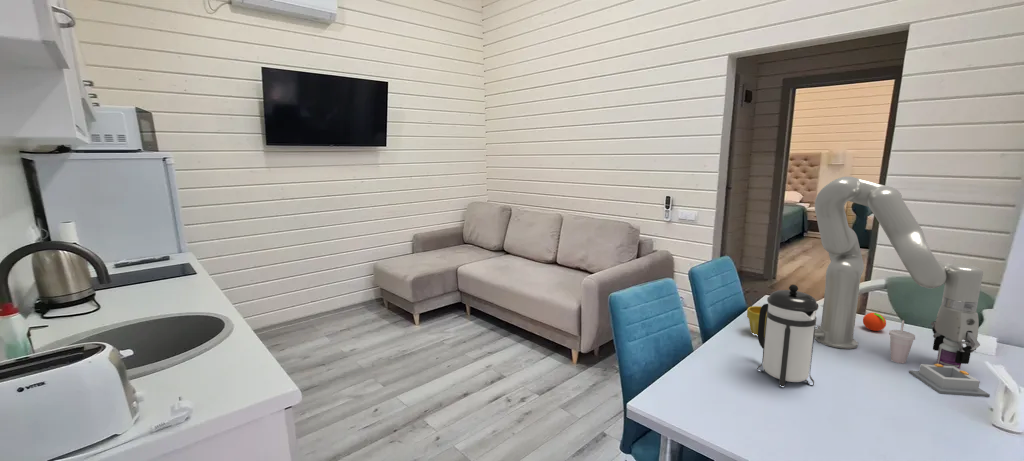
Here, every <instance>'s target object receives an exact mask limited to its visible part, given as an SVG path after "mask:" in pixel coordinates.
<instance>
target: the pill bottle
mask: <svg viewBox="0 0 1024 461" xmlns="http://www.w3.org/2000/svg"><path fill="white" fill-rule="evenodd" d="M957 350H958V351H959V348H958V345H957V342H955V341H953V340H951V339H949V338H947V337H945V338H944V339H943V343H942V344H940V346H939V351H937V352H938V353H937V359H936V364H941V365H943V366H954V367H956V368H958V369H960V370H961V367H962V364H959V363H956V362H955V359H956V353H957Z"/></svg>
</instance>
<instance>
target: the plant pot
mask: <svg viewBox="0 0 1024 461" xmlns="http://www.w3.org/2000/svg"><path fill="white" fill-rule="evenodd" d="M761 307H762V305H761V306H759V305H757V306H755V305H752V306H749V307H748V308H747V310H746V312H747V313H746V315H747V316H746V317H747V319H748V321H749V327H750V333H751V332H752V333H754V334H757V335H758V324H759V314H760V309H761ZM766 315H767V312H766ZM765 325H766V319H765ZM752 333H751V334H752ZM764 336H765V330H764Z"/></svg>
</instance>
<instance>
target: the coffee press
mask: <svg viewBox="0 0 1024 461" xmlns="http://www.w3.org/2000/svg"><path fill="white" fill-rule="evenodd" d="M766 300H767V303H764V304H762V305H761V309H760V314H759V324H758V337H757V339H758V343H759V346H760V347H761V348H762V349H763V350H762V358H761V359H762V360H761V361H762V362H761V363H760V365H758V367H756V370H757V369H760V367H762V368H763V369H764V371H763V372H765V373H767V374H768V375H770V376H771V377H774V378H776V379H777V380H779V383H778V386H779V385H781V386H784V385H785V386H786V382H792V383H799V382H805V383H806V384H808V382H809V380H807V379H808V378H809V379H810V381H811V383H813V386H814V384H815V380H814V379H813V377H812V375H811V374H810V372H811V369H812V364H811V363H813V362H812V360H813V359H812V358H813V355H812V354H813V352H814V346H813V345H815V344H814V342H815V337H814V336H813V335H815V329H816V328H815V327H816V324H817V311H818V310H819V303H818V302H817V300H816V299H815V298H814V297H813V296H811V295H810V294H808V293H805V292H802V291H799V287H798V286H797V285H796V284H790V286H789V287H788V289H779V290H776V291H772V292H771V293H770V295H769V296H768V297H767V299H766ZM766 312H767V315H766ZM765 319H766V325H765ZM764 330H765V336H764Z"/></svg>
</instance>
